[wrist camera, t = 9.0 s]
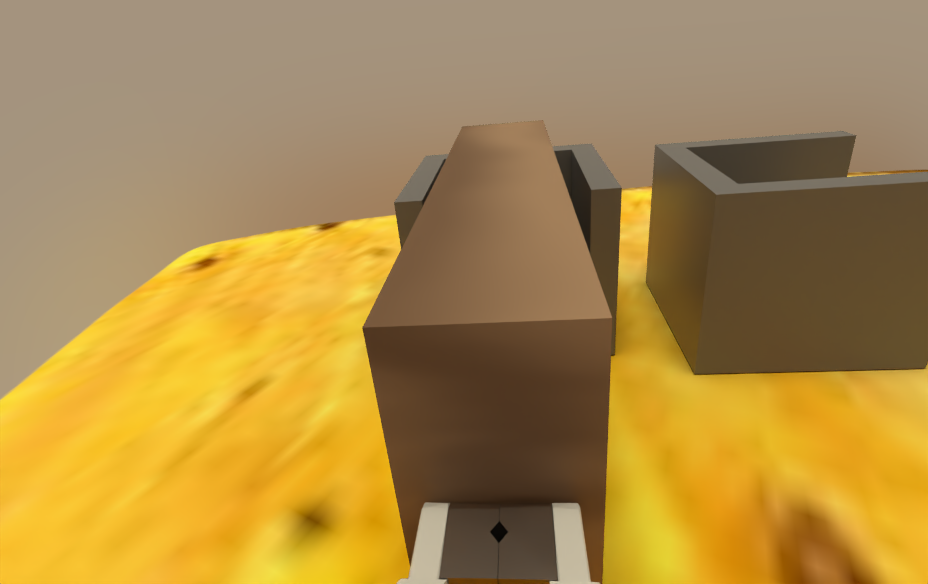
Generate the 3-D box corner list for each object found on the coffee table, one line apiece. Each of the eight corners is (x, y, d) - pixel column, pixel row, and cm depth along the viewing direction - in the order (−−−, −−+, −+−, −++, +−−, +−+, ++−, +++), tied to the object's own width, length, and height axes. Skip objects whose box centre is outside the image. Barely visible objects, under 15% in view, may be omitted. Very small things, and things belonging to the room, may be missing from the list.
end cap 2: (645, 281, 31) (655, 144, 28) (811, 274, 30) (842, 131, 27) (694, 374, 23) (716, 194, 20) (925, 368, 22) (992, 177, 18)
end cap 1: (589, 273, 33) (591, 143, 30) (614, 354, 25) (621, 188, 21) (440, 280, 34) (425, 155, 31) (418, 360, 26) (394, 202, 22)
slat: (547, 300, 30) (542, 120, 26) (598, 684, 13) (612, 317, 8) (478, 303, 31) (462, 126, 27) (432, 679, 13) (362, 327, 9)
